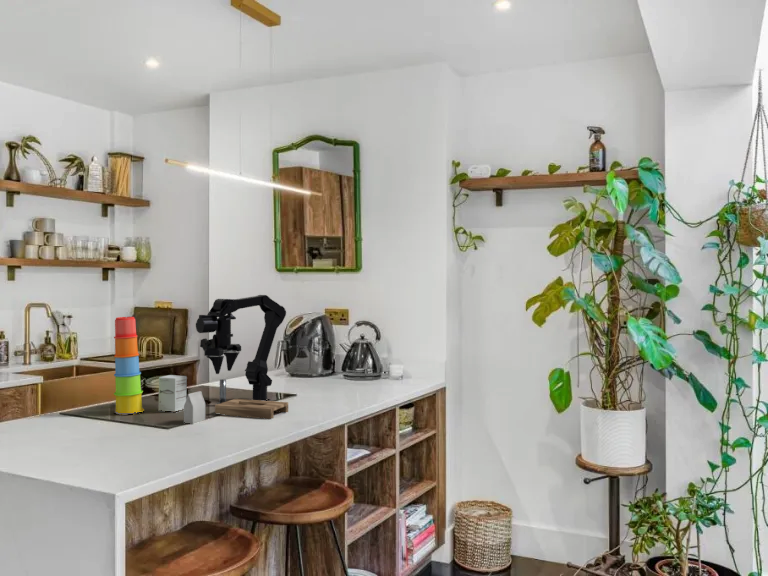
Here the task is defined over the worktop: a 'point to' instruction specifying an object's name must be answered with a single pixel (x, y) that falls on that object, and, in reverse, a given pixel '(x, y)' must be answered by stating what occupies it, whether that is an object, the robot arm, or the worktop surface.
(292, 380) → the worktop surface
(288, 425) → the worktop surface
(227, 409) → the keyhole board
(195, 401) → the grey gabled carton
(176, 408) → the supplement box
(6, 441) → the worktop surface
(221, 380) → the tee peg
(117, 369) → the stacking cups
